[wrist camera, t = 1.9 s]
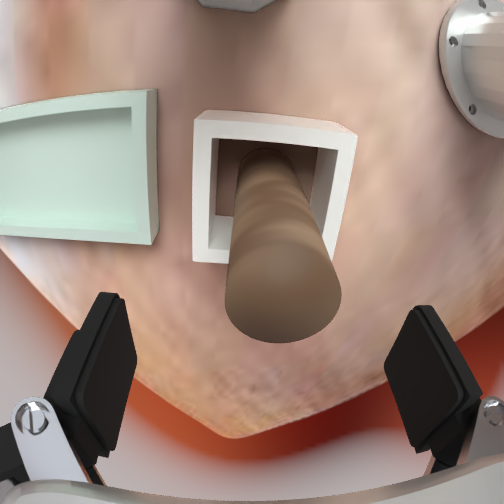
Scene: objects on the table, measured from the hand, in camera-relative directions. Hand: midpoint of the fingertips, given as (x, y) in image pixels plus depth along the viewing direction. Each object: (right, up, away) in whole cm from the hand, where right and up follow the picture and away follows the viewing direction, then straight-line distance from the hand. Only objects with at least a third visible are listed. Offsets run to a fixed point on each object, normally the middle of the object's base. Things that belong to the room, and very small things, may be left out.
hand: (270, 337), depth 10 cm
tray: (-16, +10, +12) cm, 23 cm away
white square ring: (0, +8, +13) cm, 15 cm away
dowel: (0, +8, +13) cm, 15 cm away
